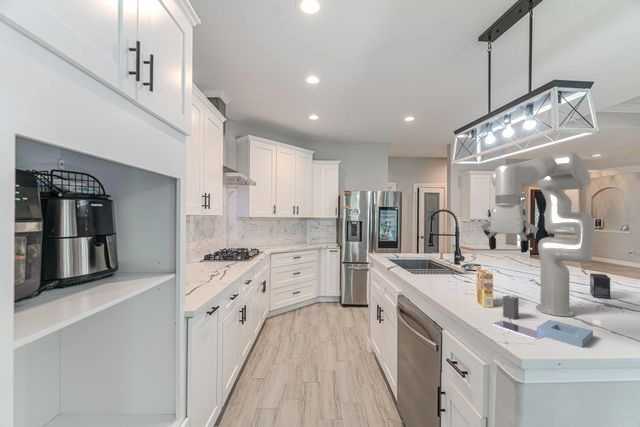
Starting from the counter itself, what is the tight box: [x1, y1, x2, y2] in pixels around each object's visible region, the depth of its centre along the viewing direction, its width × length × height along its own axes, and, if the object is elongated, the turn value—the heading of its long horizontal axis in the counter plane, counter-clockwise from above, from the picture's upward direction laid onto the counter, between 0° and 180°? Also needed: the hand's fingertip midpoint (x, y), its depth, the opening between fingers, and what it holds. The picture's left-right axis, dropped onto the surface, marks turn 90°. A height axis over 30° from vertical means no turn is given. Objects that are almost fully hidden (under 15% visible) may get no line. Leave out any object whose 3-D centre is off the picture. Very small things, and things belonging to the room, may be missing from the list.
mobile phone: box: [491, 320, 544, 341], centre depth 105 cm, size 8×1×15 cm
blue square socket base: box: [536, 319, 594, 348], centre depth 99 cm, size 12×12×3 cm
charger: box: [502, 294, 520, 320], centre depth 117 cm, size 4×4×8 cm
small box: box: [589, 272, 611, 300], centre depth 146 cm, size 11×6×10 cm, turn 144°
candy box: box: [476, 268, 494, 308], centre depth 133 cm, size 9×4×15 cm, turn 171°
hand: (507, 250), depth 100 cm, fingers open, 9 cm apart
